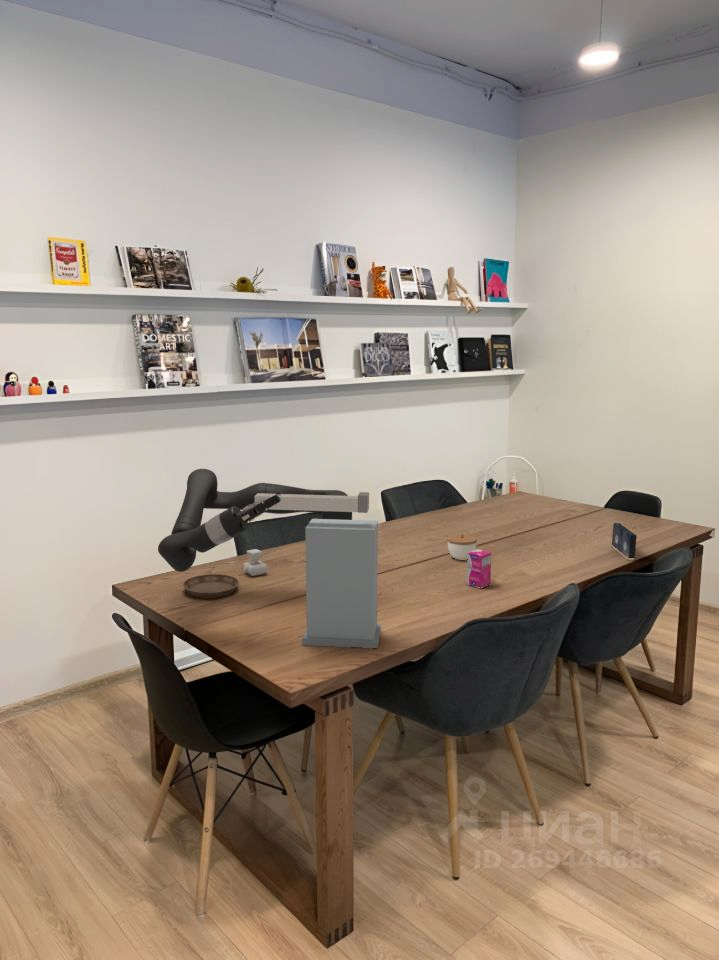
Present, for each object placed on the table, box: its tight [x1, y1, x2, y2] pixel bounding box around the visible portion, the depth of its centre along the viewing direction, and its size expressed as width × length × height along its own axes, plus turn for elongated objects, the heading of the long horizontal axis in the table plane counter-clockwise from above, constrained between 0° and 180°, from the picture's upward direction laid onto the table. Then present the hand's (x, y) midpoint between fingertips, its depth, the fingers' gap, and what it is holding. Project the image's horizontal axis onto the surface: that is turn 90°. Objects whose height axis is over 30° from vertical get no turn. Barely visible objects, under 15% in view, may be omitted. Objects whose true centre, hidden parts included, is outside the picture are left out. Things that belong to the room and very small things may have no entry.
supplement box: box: [466, 548, 492, 588], centre depth 245 cm, size 6×6×12 cm
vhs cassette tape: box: [611, 522, 638, 558], centre depth 282 cm, size 18×3×10 cm, turn 179°
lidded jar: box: [446, 533, 478, 559], centre depth 276 cm, size 11×11×9 cm
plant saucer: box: [182, 573, 240, 599], centre depth 240 cm, size 18×18×3 cm
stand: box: [301, 518, 382, 649], centre depth 200 cm, size 20×12×32 cm, turn 84°
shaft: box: [255, 491, 370, 514], centre depth 196 cm, size 30×4×4 cm, turn 84°
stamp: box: [242, 548, 269, 577], centre depth 256 cm, size 9×7×8 cm
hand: (279, 496), depth 197 cm, fingers closed on shaft, 3 cm apart
